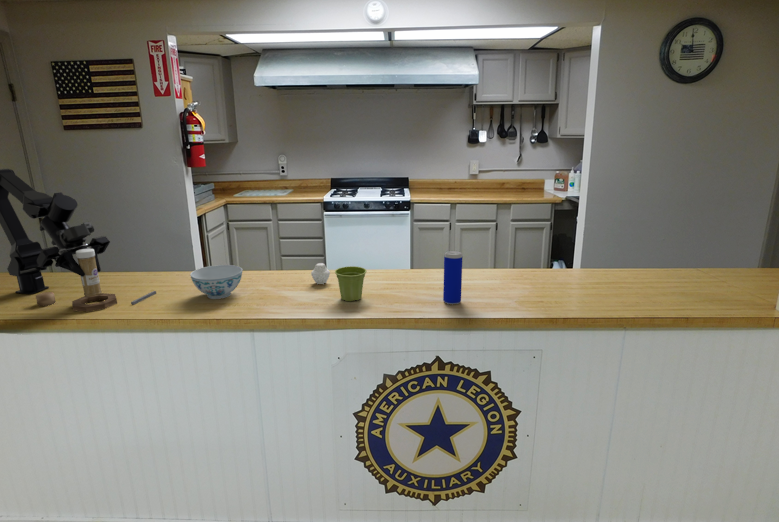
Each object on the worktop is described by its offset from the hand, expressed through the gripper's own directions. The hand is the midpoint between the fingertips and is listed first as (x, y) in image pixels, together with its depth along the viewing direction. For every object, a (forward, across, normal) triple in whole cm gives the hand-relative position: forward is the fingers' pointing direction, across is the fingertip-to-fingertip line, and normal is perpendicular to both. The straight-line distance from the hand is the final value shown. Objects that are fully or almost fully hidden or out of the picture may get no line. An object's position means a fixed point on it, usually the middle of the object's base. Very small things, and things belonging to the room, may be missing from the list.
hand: (91, 273), depth 138 cm
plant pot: (+53, +35, -40) cm, 75 cm away
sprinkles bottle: (+4, 0, +6) cm, 7 cm away
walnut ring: (+6, 0, +8) cm, 10 cm away
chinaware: (+26, +21, -12) cm, 35 cm away
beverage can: (+73, +44, -61) cm, 105 cm away
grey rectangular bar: (+13, +9, +1) cm, 16 cm away
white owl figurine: (+42, +44, -28) cm, 67 cm away
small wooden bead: (-4, -5, +18) cm, 19 cm away
